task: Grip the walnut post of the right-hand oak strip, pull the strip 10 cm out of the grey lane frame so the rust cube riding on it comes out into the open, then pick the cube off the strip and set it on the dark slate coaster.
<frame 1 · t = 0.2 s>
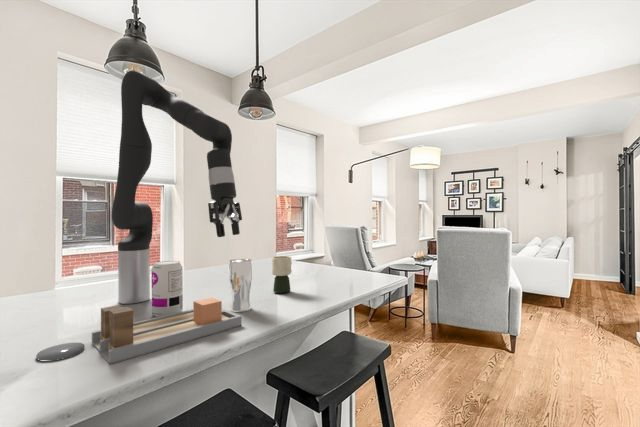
hand: (229, 235, 100), 22 cm above the counter, tool pointing down, fingers open, 8 cm apart
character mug: (282, 292, 120), on the counter
supplement can: (167, 314, 95), on the counter
oak strip right: (175, 317, 77), point 5 cm above the counter, slide at 0.0 cm, touching rust cube
lane frame: (169, 334, 79), on the counter
rust cube: (207, 320, 82), point 2 cm above the counter, touching oak strip right
beer glass: (240, 310, 99), on the counter
oak strip left: (163, 313, 81), point 4 cm above the counter, slide at 0.0 cm
slate coaster: (61, 352, 69), on the counter
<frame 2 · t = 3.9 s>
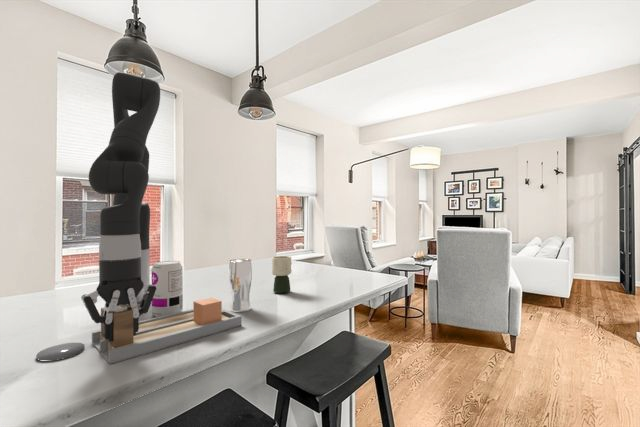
hand: (121, 337, 68), 3 cm above the counter, tool pointing down, fingers closed on oak strip right, 3 cm apart
oak strip right: (175, 317, 77), point 5 cm above the counter, slide at 0.0 cm, touching gripper, rust cube
everything else where it was.
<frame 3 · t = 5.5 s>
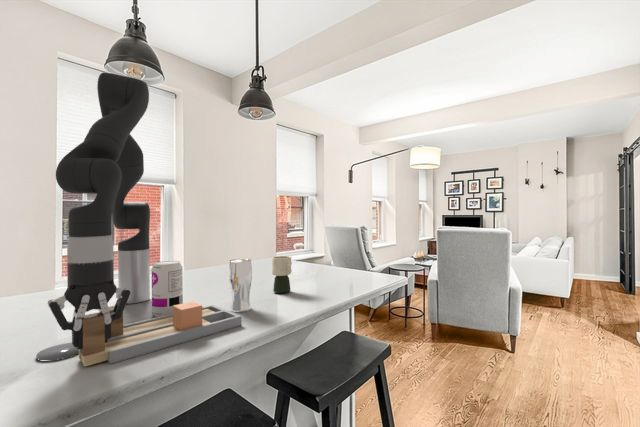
hand: (91, 344, 65), 3 cm above the counter, tool pointing down, fingers closed on oak strip right, 3 cm apart
oak strip right: (152, 323, 73), point 5 cm above the counter, slide at 5.2 cm, touching gripper, rust cube
rust cube: (187, 326, 79), point 2 cm above the counter, touching oak strip right
everything else where it was.
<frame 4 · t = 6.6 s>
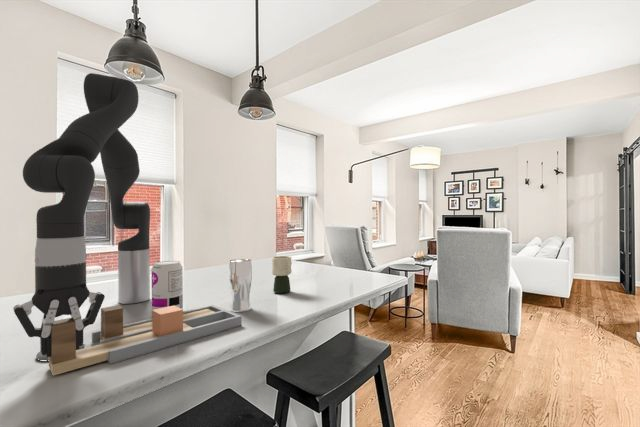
hand: (62, 351, 61), 3 cm above the counter, tool pointing down, fingers closed on oak strip right, 3 cm apart
oak strip right: (129, 328, 69), point 5 cm above the counter, slide at 9.8 cm, touching gripper, rust cube
rust cube: (167, 331, 75), point 2 cm above the counter, touching oak strip right
everything else where it was.
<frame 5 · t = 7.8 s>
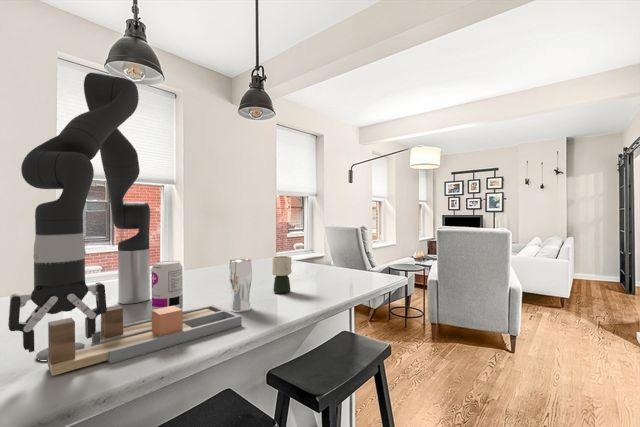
hand: (61, 343, 61), 5 cm above the counter, tool pointing down, fingers open, 8 cm apart
oak strip right: (128, 328, 69), point 5 cm above the counter, slide at 9.9 cm, touching rust cube
everything else where it was.
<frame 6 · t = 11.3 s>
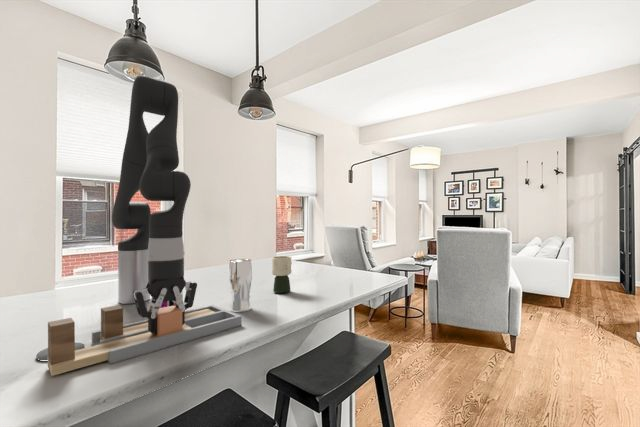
hand: (166, 330, 75), 2 cm above the counter, tool pointing down, fingers closed on rust cube, 5 cm apart
rust cube: (167, 331, 75), point 2 cm above the counter, touching gripper, oak strip right
everything else where it was.
when the fingers open (3 cm above the counter, at t = 16.8 s): rust cube drops 2 cm, resting on slate coaster.
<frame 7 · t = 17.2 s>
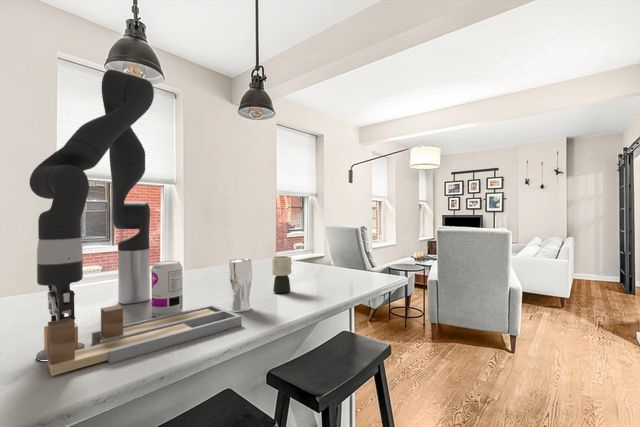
hand: (61, 336, 69), 3 cm above the counter, tool pointing down, fingers open, 8 cm apart
oak strip right: (128, 329, 69), point 5 cm above the counter, slide at 10.0 cm
rust cube: (61, 350, 69), point 1 cm above the counter, touching slate coaster
everything else where it was.
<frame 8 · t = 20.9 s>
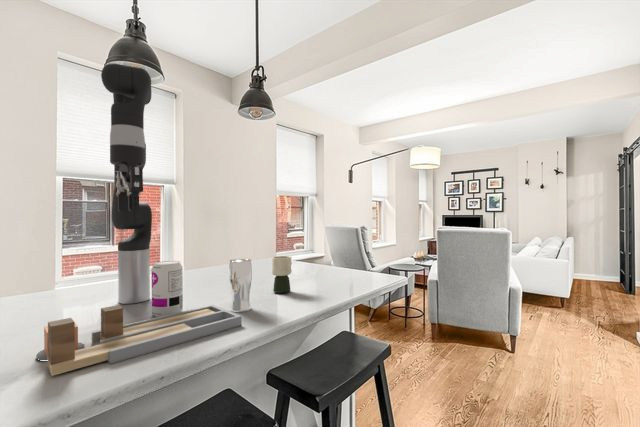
hand: (128, 210, 81), 30 cm above the counter, tool pointing down, fingers open, 8 cm apart
nothing on the counter moved.
at the end: oak strip right slide at 10.0 cm; rust cube inside the target area on the slate coaster (0.0 cm from its centre), point 0.6 cm above the slate coaster's base; the gripper is holding nothing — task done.
